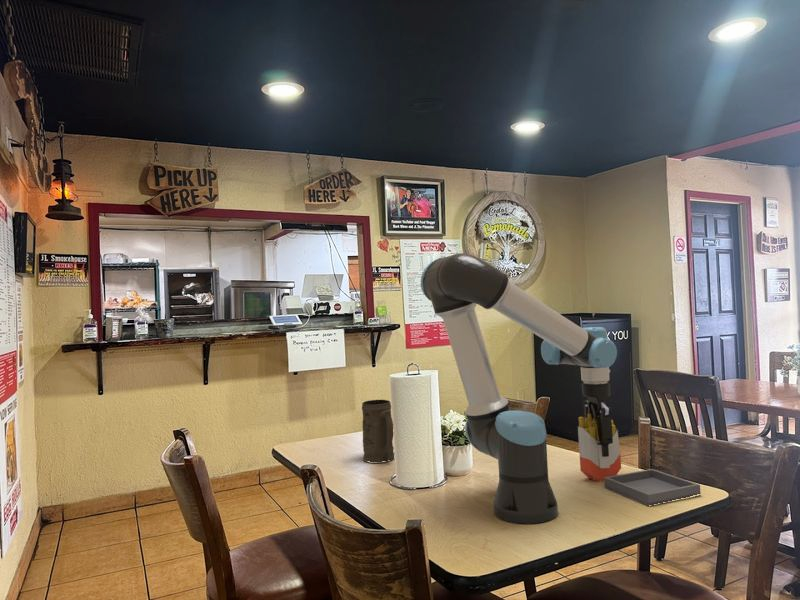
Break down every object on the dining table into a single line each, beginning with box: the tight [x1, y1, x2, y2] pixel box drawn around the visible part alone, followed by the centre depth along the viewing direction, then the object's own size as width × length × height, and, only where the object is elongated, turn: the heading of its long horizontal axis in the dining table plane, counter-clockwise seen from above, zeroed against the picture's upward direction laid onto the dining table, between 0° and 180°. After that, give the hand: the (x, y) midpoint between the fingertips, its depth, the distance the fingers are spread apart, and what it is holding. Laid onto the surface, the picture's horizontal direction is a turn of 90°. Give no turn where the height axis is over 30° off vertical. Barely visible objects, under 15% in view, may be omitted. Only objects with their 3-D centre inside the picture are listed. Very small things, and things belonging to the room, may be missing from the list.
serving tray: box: [603, 468, 702, 506], centre depth 146 cm, size 16×16×3 cm
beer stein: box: [361, 399, 395, 462], centre depth 191 cm, size 15×11×20 cm
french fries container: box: [577, 414, 622, 482], centre depth 159 cm, size 5×11×18 cm, turn 112°
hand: (600, 464), depth 159 cm, fingers open, 5 cm apart
